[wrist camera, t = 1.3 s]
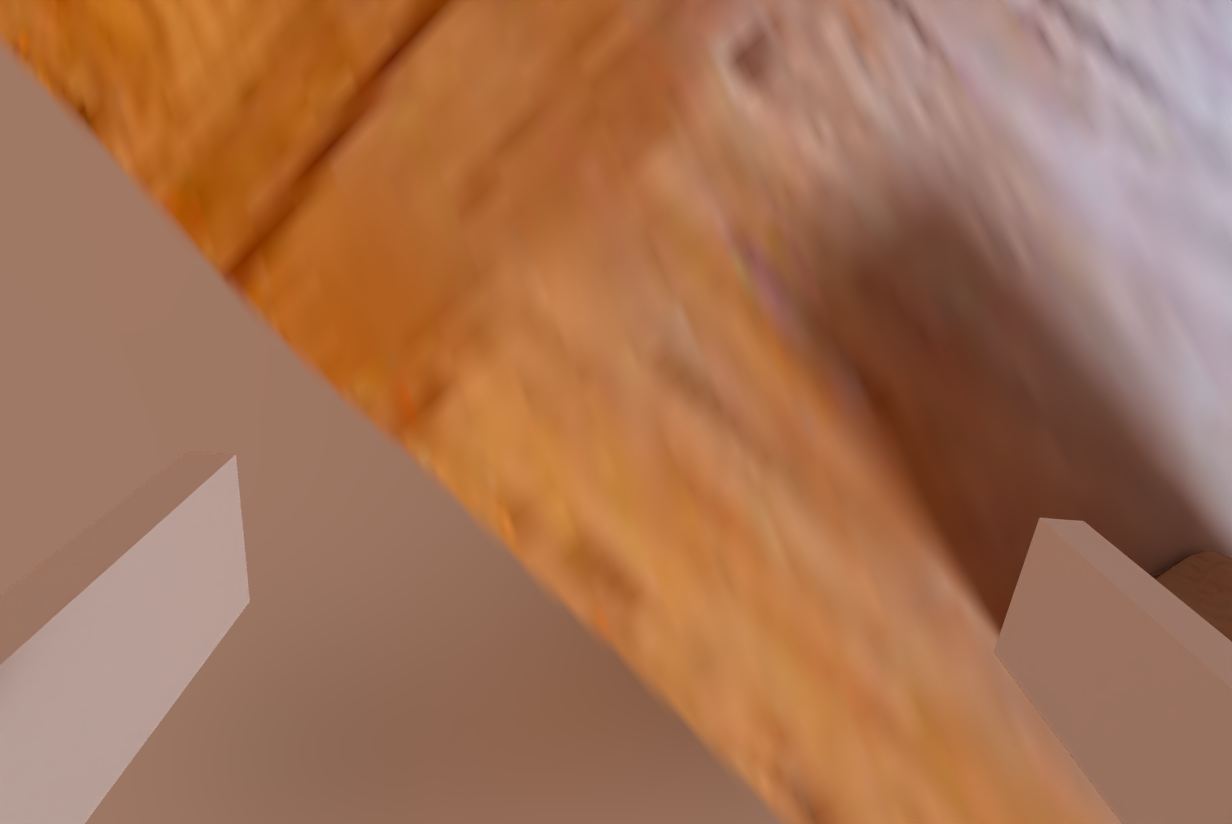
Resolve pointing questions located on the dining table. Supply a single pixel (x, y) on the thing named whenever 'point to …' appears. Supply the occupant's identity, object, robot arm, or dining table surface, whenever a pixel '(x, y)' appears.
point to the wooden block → (1204, 587)
